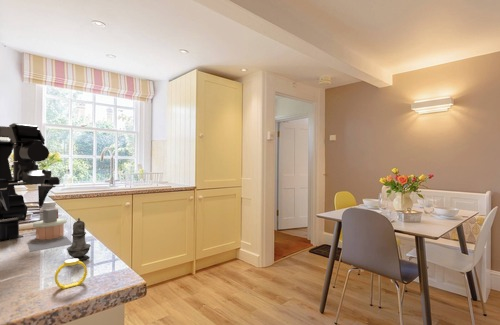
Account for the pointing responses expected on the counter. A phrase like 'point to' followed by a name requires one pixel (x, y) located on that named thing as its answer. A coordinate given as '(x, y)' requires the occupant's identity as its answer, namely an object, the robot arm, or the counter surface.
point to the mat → (49, 244)
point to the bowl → (49, 232)
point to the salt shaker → (79, 242)
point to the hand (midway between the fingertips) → (24, 208)
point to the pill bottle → (48, 206)
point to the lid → (49, 219)
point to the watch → (68, 263)
